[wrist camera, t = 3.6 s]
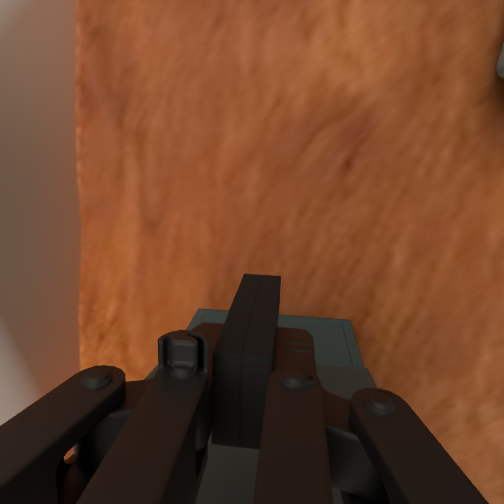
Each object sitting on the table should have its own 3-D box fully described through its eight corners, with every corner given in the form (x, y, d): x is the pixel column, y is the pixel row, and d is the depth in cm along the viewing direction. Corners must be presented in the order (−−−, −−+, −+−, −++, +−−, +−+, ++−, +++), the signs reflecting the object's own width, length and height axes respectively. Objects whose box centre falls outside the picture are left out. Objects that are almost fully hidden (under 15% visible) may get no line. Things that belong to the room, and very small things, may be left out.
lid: (467, 592, 11) (470, 564, 11) (24, 533, 12) (24, 508, 12) (367, 381, 25) (368, 368, 25) (168, 363, 26) (169, 351, 26)
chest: (335, 459, 37) (345, 540, 29) (197, 444, 38) (173, 518, 30) (350, 319, 33) (366, 370, 26) (198, 308, 34) (171, 353, 27)
